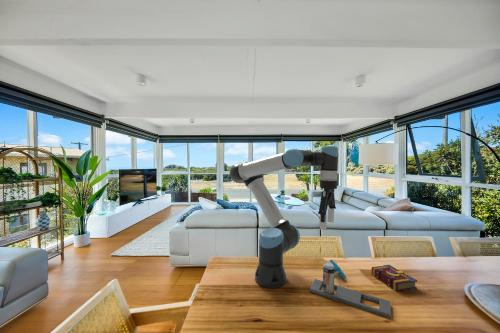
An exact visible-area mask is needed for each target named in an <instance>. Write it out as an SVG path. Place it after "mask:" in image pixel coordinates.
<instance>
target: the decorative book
mask: <svg viewBox="0 0 500 333" xmlns="http://www.w3.org/2000/svg"><path fill="white" fill-rule="evenodd" d="M371 276H373V277H375V279H376V280H377V281H380V282H382V283H383V284H385V285H386V286H387V287H388V288H390V289H392V290H394V291H396V292H403V291H408V290H410V291H414V290H415V291H416V290H417V289H418V287H417V286H416V283H418V279H416V278H414V277H412V276H411V275H408V274H406V273H405V272H404V271H402V270H399V269H397V268H396V267H394V266H392V265H390V264H384V265H378V266H372V267H371Z"/></svg>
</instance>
